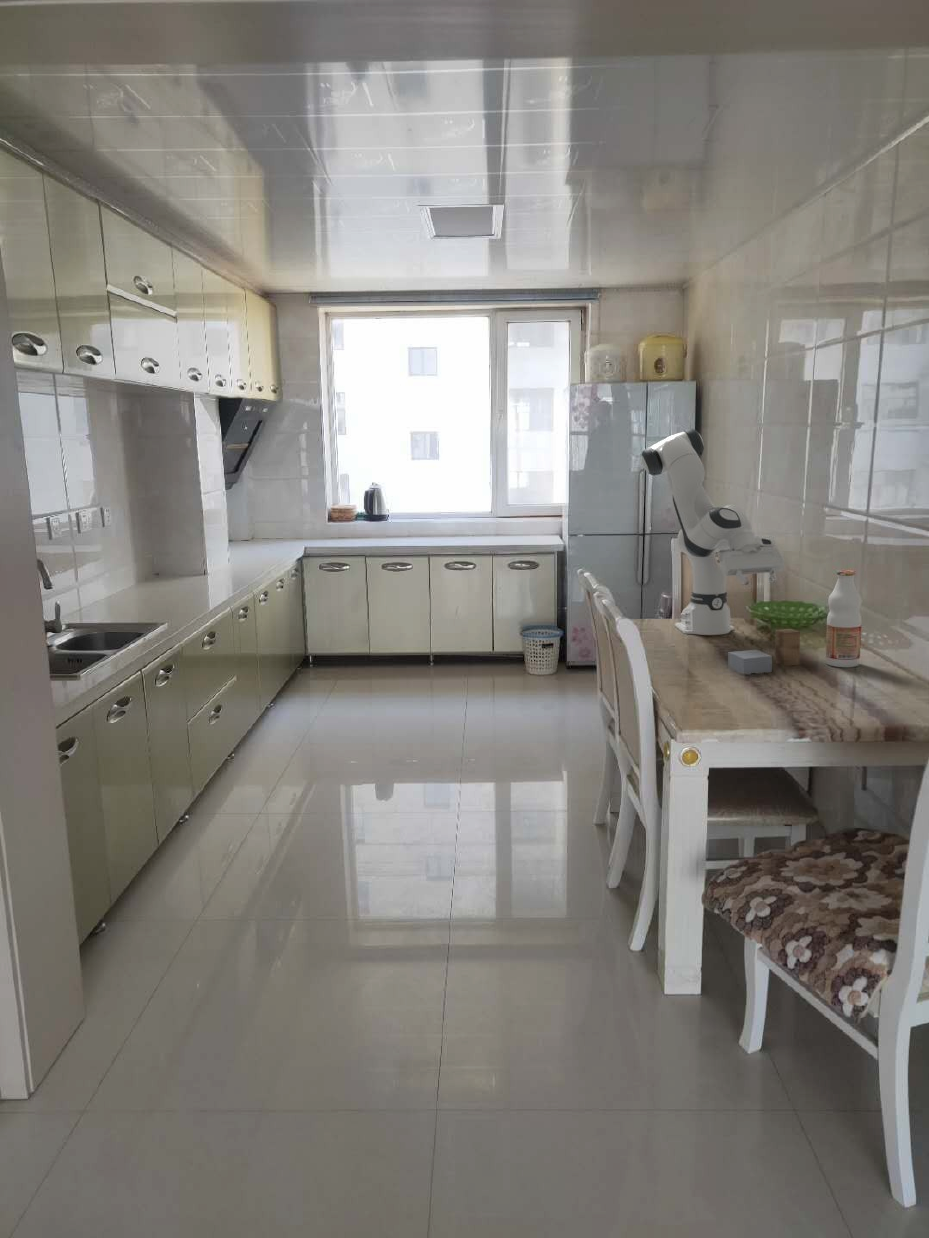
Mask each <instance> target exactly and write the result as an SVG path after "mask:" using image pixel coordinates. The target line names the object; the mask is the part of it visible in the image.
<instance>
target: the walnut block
mask: <svg viewBox="0 0 929 1238" xmlns="http://www.w3.org/2000/svg"><path fill="white" fill-rule="evenodd" d="M800 637H801V631H799V630H796V629H794V628H783V629H775V638H774V641H775V643H774V663H776V664H778V663H779V664H778V665H781V666H793V665H794V666H796V665H797V666H798V665H800V640H801V639H800Z"/></svg>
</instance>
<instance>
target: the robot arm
mask: <svg viewBox="0 0 929 1238" xmlns="http://www.w3.org/2000/svg"><path fill="white" fill-rule="evenodd" d="M704 451H705V445H704V440H703V437H702V435H701V434H700V433H699V432H698V431H697V430H696V429H694V428H688V429H684V430H683V431H681V432H677V433H675V434H672V435H669V436H667V437H665V438H663V439H661V440H659V441H658V442H656V443H654V444H651V446H650V445H649V446H647V447H646V448H644V449H643V450H642V452H641V454H640V455H641V458H640V459H641V464H642V467H643V469H644V470H645V471H646V472H647V473H648V474H649V475H651V476H659V475H661V474H662V473H665V480H666V483H667V487H668V490H669V492H670V495H671V497H672V503H673V507H674V510H675V514H676V516H677V519H678V522H679V525H680V530H679V532H678V534H677V537H676V538H677V540H676V541H677V545H678V547H679V550H680V551H681V552H683V554H685V555H686V557H687V558H688V561H689V563H690V566H691V569H692V581H693V582H692V584H693V585H692V588H693V589H692V592H691V594H690V601H689V603H688V605H686V607H684V608H683V610H682V612H681V613H680V614H679V618H680V620H681V621H679V622H675V623H674V627H675V628H677V629H678V630H679V631H680V632H682V633H683V634H686V635H698V636H699V635H701V636H718V635H725V634H729V633H731V631H733V630H735V627H734V625H732V621H731V610H730V606H729V605H727V602H728V593H727V591H726V590H727V589H726V588H727V587H726V586H727V577H729V576H735V578H736V579H738V580H739V581H740V582H741V584H742V585H749V583H750V580H749V577H748V576H744V575H752V574H765V573H766V574H767V573H769V574H770V577H769V581H770V583H776V582H777V581H778V578H777V573H779V572H781V571H782V570H783V569H784V567H785V564H786V561H785V559H784V557H783V555H782V553H781V552H780V550H779V549H778V548H777V547H775V541H774V540H772V539H768V538H765V537H760V536H757V535H756V534H755V533H754V531H753V530H752V525H751V523H750V520H749V519H748V516H747V515H746V513H745V512H744V510H743V509H742V508H741V507H740V506H738V505H737V504H726V505H725V506H723V507H719V506H718V507H716V506H715V504H714V503H713V502H712V500H711V499H710V497H709V495H708V494H707V492H706V489H705V488H704V486H703V483H704V480H705V477H706V471H705V467H704V466H705V465H704V463H703V462H702V460H701V456H702V455H703V453H704ZM717 558H718V559H717ZM718 561H719V562H718Z"/></svg>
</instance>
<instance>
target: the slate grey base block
mask: <svg viewBox="0 0 929 1238" xmlns="http://www.w3.org/2000/svg"><path fill="white" fill-rule="evenodd" d="M772 663H773V655H771V654H768V653H766V652H763V651H762V650H761V651H760V650H758V649H749V650H746V649H745V650H737V651H728V652H727V667H728V669H729V670H732V669H733V671H734V670H735V672H737V673H739V674H741V675H743V676H744V675H745V674H746V675H752V674H751V673H756V674H765V673H771V672H772V668H773V666H772V665H773V664H772ZM764 672H765V673H764Z"/></svg>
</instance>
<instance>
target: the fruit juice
mask: <svg viewBox="0 0 929 1238" xmlns="http://www.w3.org/2000/svg"><path fill="white" fill-rule="evenodd" d="M855 576H856V571H855V570H853V569H839V570H837V571H836V577H837V579H836V583H835V585H834V588H833V590H832V592H831V593H830V594H829V596H828V600H827V601H828V602H827V603H828V607H829V612H828V614H827V618H826V636H825V637H826V641H825V643H826V644H825V663H826V664H827V665H828V666H831V667H836V668H854V667H858V666H859V665H860V661H861V644H862V643H861V641H862V614H861V611H860V610H861V607H862V604H863V601H862V599H863V598H862V596H861V594H860V593H859V592H858V591H859V590H858V589H857V587H856V582H855Z"/></svg>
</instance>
